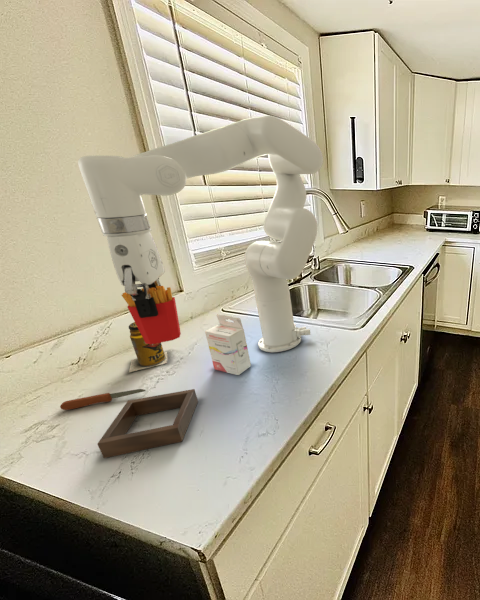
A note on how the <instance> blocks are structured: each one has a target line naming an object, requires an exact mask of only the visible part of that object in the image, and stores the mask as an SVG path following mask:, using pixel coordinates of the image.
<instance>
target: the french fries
mask: <svg viewBox="0 0 480 600" xmlns="http://www.w3.org/2000/svg"><path fill="white" fill-rule="evenodd" d="M156 288H157V290H156ZM156 288H151V289H150V288H149V291H150V296H151V297H153V298H154V301H155V304H156V308H157V311H158V315H157V316H154V317H145V318H140V317H139V314H138V311H137V308H136V305H135V302H134V301H133V300H132V296H131V295H130V294H128V293H126V292H125V291H124V292H123V293H122V294H121V297H122V299H124V301H125V303H126V304H127V310H128V312H129V313H130V315H131V318H132V319H133V322H135V323H136V325H137V327H138V329H139V331H140V333H141V335H142V337H143V339H144V341H145V343H146V344H156V343H161V344H162V343H166V342H171V341H174V340H177V339H179V338H180V337H181V335H182V333H181V326H180V320H179V315H178V309H177V303H176V297H174V296H173V294H172V288H171V286H170V287H166V289H165V286H164V285H161V286H156ZM141 290H142V291H144V290H143V287H141Z"/></svg>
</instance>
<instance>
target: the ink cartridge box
mask: <svg viewBox="0 0 480 600" xmlns="http://www.w3.org/2000/svg"><path fill="white" fill-rule="evenodd" d="M216 317H217V321H218V323H219V324H217V325H215V326H213V327H211V328H208V329H206V330H205V331H204V333H205V338H206V341H207V344H208V350H209V354H210V357H211V361H212V365H213V369H214V370H215V371H218V372H223V373H228V374H231V375H236V376H240V375H241V374H242V373H244V372H245V371H247V370H248V369H250V367H252V364H251V363H252V362H251V359H250V353H249V348H248V343H247V339H246V333H245V329H244V327H243V324H242V320H241V318H240V317H236V316H231V315H225V314H219V313H217V314H216ZM227 320H230V321H227Z"/></svg>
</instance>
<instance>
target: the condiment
mask: <svg viewBox="0 0 480 600" xmlns="http://www.w3.org/2000/svg"><path fill="white" fill-rule="evenodd" d="M128 329H129V339H130V341H131V344H132V347H133V350H134V353H135V356H136V358H133V359H131V360H130V365H129V369H128V373H132V372H137V371H140V370H145V369H149V368H154V367H158V366H160V365H165V364H167V363H168V351H164V348H163V345H162V342H161V343H156V344H146V343H145V341H144V339H143V337H142V335H141V333H140V331H139V329H138V327H137V325H136V323H135V321H133V322H132V323H130V324H129V325H128Z"/></svg>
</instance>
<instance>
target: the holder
mask: <svg viewBox="0 0 480 600" xmlns="http://www.w3.org/2000/svg"><path fill="white" fill-rule="evenodd" d="M198 403H199V400H198V395H197V393H196V389H195V388H192V389H187V390H186V389H185V390H181V391H174V392H169V393H164V394H158V395H152V396H147V397H141V398H135V399H134V398H133V399H129V400H127V401H126V403H125V404H124V405H123V407H122V408H121V410H120V411H119V412H118V414H117V415H116V417H115V418H114V420H113V421H112V423H110V425H109V427H108V428H107V429H106V431H105V432H104V433H103V435H102V436H101V438H100V439H99V441H98V442H97V446H98V449H99V451H100V453H101V455H102V458H103V459H108V458H112V457H117V456H120V455H126V454H131V453H136V452H140V451H144V450H150V449H153V448H159V447H162V446H163V447H164V446H167V445H173V444H177V443H182V442H183V440H184V438H185V435H186V433H187V430H188V428H189V426H190V423H191V421H192V419H193V415H194V413H195V411H196V408H197V405H198ZM174 409H175V410H176V409H179V410H178V412H177V414H176V417H175V418H174V421H173V423H172V424H169V425H166V426H160V427H156V428H155V427H154V428H150V429H145V430H140V431H136V432H131V433H128V431H129V430H130V428H131V426H132V425H133V423H134V421H135V420H136V418H137V417H138V416H143V415H148V414H153V413H159V412H164V411H170V410H174Z"/></svg>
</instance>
